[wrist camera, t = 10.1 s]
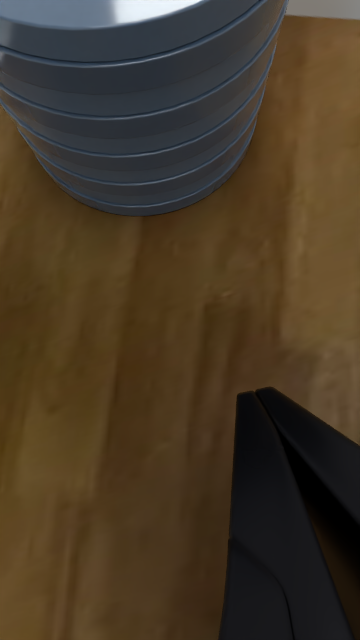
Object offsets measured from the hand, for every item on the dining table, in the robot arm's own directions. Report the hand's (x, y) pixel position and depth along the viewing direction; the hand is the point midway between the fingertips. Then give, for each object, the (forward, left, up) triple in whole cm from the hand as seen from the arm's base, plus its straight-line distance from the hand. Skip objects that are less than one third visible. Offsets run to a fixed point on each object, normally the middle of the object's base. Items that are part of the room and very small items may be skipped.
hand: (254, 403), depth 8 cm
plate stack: (+20, +8, -13) cm, 25 cm away
